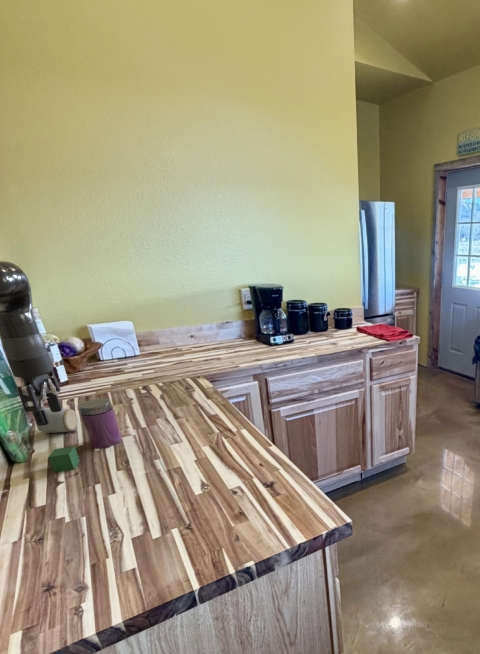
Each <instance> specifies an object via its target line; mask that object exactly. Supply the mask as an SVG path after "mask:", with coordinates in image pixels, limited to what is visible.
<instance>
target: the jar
mask: <svg viewBox="0 0 480 654" xmlns="http://www.w3.org/2000/svg"><path fill="white" fill-rule="evenodd" d="M79 417H80V419H81V423H82V425H83V428H84V431H85V434H86V438H87V440H88V443H89V446H90V448H92V449H93V448H94V449H103V448H104V449H105V448H110V447H112V446H114V445H117V444H118V443H120V442H121V441H122V440H123V436H122V433H121V429H120V427H119V423H118V419H117V416H116V412H115V409H114V406H112V408H111V409H110V410H108V411H106V412H103V413H100V414H94V415H83V414H81V413H80V412H79Z"/></svg>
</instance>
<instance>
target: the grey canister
mask: <svg viewBox="0 0 480 654" xmlns="http://www.w3.org/2000/svg"><path fill="white" fill-rule="evenodd" d="M61 408H62V410H61V411H60V412H51V410H50V407H44V410H45V412H46V415H47V418H48V420H49V423H48V424H47V425H42V426H38V425H37V423H36V422H35V425H36V428H37V429H38V431H39V432H40V433H42V434H51V433H53V434H55V433H69V432H72V431H74V430H75V429H76V428H77V426H78V424H79V423H80V418H79V417H78V415H77V413H76V411H74V410H73V409H71V408H67V407H66V408H65V407H64V408H63V407H61Z"/></svg>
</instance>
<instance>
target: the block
mask: <svg viewBox="0 0 480 654" xmlns="http://www.w3.org/2000/svg"><path fill="white" fill-rule="evenodd" d="M47 457H48V460H49V463H50V466H51V469H52V472H53V473H58V472H67V471H73V470H75V469H76V467H77V466H78V465H79V463H80V458H79V456H78V453H77V449H76V447H75V446H67V447H60V448H54V449H53V450H52V451H51V453H50V454H49V455H48V456H47Z"/></svg>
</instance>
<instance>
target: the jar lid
mask: <svg viewBox="0 0 480 654" xmlns="http://www.w3.org/2000/svg"><path fill="white" fill-rule="evenodd" d="M112 407H113V404H112V403H111V400H110V399H109V398H94V399H90V400H89V399H88V400H85V401H84V402H80V403H79V404H78V411H79V414H80V413H81V414H83V415H94V414H100V413H103V412H106V411H108V410H110V409H111V408H112Z"/></svg>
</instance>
